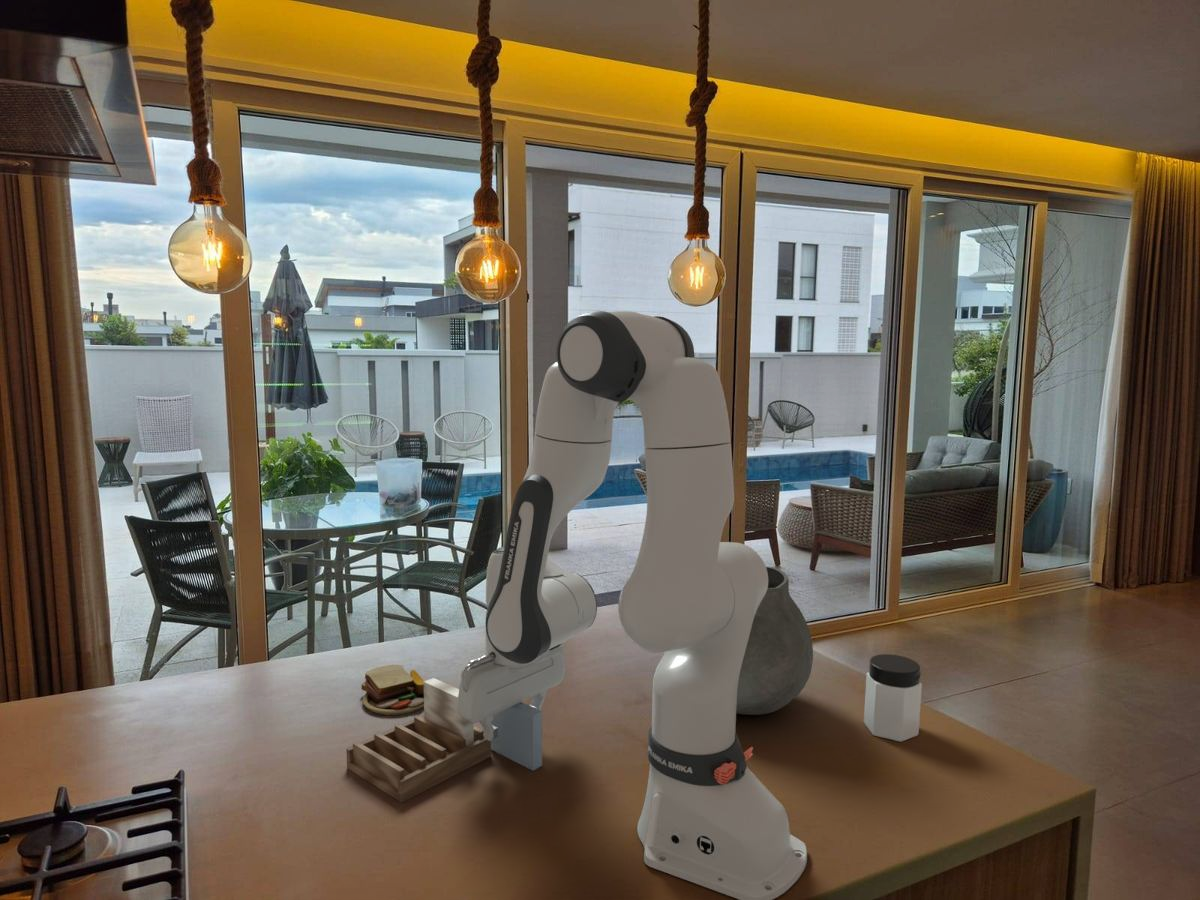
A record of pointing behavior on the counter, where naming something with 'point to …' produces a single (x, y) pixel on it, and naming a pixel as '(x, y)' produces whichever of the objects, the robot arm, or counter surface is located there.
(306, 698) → the counter surface
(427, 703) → the rack
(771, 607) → the ceramic pot
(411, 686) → the toy sandwich meal
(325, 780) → the counter surface
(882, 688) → the jar
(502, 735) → the grey upright panel
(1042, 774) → the counter surface
